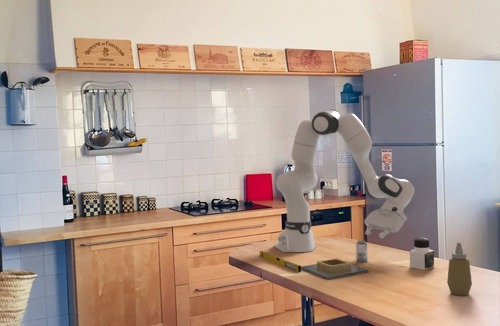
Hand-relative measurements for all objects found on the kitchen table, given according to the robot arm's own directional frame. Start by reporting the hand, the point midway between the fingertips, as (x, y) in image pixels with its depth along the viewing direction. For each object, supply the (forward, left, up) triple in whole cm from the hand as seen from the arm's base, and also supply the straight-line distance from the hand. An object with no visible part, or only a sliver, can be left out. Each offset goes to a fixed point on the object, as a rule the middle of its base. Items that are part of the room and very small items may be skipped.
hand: (373, 235), depth 249 cm
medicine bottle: (+22, +7, -11) cm, 26 cm away
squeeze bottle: (+56, -8, -11) cm, 58 cm away
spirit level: (-17, -39, -11) cm, 44 cm away
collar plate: (+6, -26, -11) cm, 29 cm away
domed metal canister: (0, -7, -11) cm, 13 cm away
